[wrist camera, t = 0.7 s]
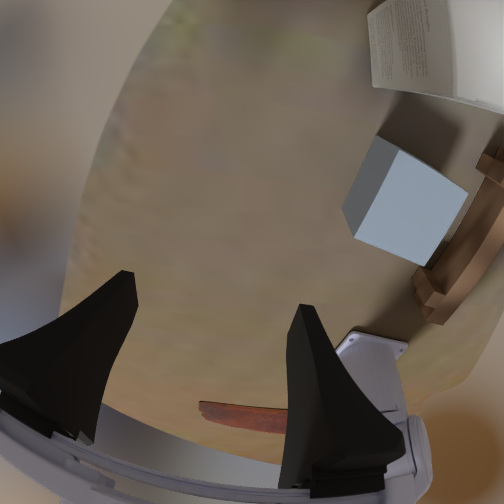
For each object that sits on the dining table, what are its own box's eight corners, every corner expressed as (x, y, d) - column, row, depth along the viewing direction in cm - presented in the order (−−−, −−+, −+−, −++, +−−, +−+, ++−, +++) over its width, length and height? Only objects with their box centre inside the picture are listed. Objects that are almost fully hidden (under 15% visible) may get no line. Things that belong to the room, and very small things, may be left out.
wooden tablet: (369, 407, 37) (370, 416, 36) (346, 430, 43) (347, 437, 42) (197, 393, 38) (195, 402, 37) (200, 417, 44) (198, 425, 42)
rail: (430, 300, 24) (442, 325, 21) (402, 290, 24) (413, 317, 21) (513, 161, 15) (538, 175, 12) (489, 137, 15) (515, 149, 12)
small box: (462, 36, 11) (564, 35, 2) (464, 104, 14) (568, 141, 5) (363, 12, 12) (438, -40, 3) (369, 87, 15) (455, 99, 6)
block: (403, 234, 21) (423, 266, 17) (341, 207, 20) (353, 237, 17) (438, 170, 18) (468, 193, 14) (375, 134, 17) (399, 149, 13)
